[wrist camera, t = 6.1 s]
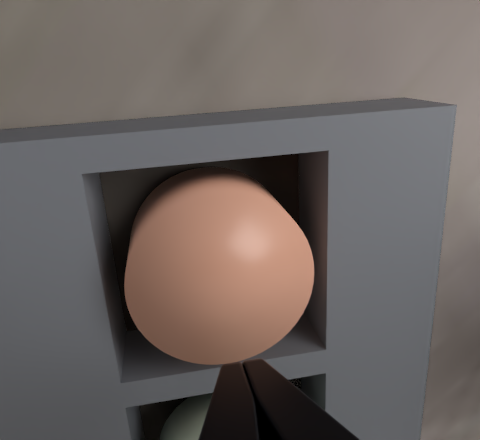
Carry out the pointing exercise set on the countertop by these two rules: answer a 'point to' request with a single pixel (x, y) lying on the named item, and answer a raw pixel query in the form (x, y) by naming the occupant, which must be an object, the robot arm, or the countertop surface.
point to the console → (310, 222)
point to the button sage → (187, 419)
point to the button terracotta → (216, 267)
